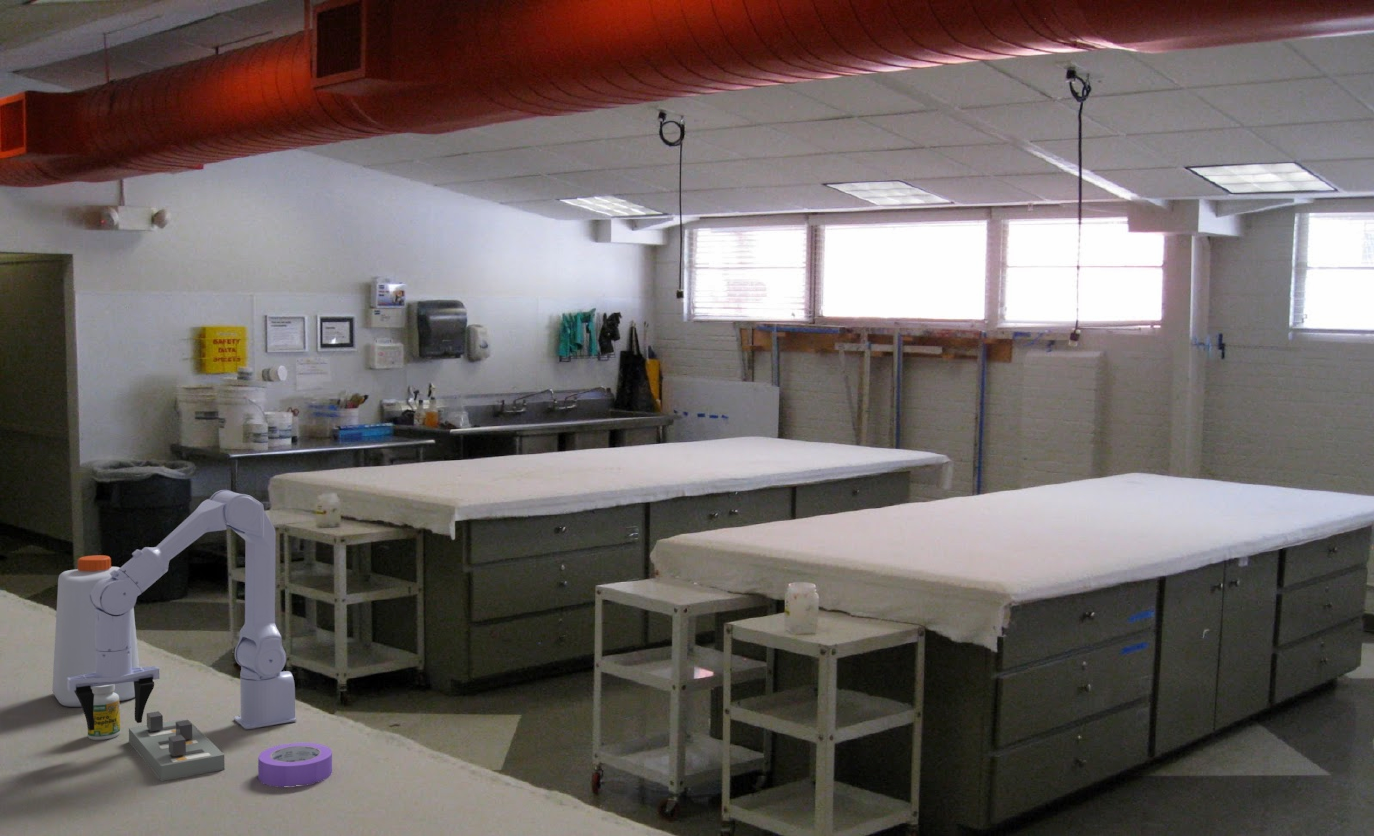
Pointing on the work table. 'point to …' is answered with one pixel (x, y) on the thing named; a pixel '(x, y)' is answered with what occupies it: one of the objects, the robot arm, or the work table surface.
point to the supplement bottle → (105, 713)
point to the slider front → (177, 745)
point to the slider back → (154, 721)
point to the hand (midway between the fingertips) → (114, 724)
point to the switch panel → (165, 766)
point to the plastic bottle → (82, 629)
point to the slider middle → (184, 729)
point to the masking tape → (294, 764)
